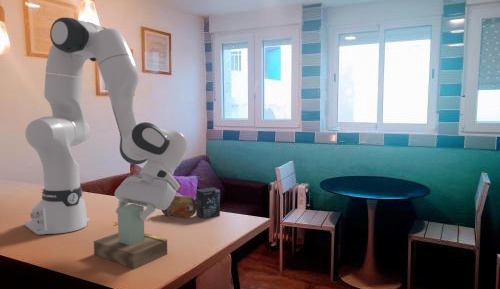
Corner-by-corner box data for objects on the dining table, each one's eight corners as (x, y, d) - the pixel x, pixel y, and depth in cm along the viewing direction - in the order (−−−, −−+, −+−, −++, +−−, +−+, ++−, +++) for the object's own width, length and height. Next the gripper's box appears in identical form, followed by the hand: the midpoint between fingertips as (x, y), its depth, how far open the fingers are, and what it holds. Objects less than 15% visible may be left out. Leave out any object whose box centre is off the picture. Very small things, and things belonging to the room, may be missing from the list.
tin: (160, 215, 145) (159, 194, 144) (164, 213, 148) (164, 192, 147) (193, 219, 139) (193, 198, 139) (197, 217, 142) (197, 196, 142)
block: (118, 241, 105) (117, 207, 104) (132, 236, 109) (131, 203, 108) (130, 245, 102) (129, 210, 101) (144, 240, 107) (143, 206, 106)
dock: (94, 254, 106) (93, 240, 106) (128, 241, 116) (127, 228, 116) (134, 268, 97) (133, 253, 96) (167, 253, 107) (167, 239, 107)
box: (202, 219, 140) (202, 191, 139) (195, 215, 145) (195, 189, 144) (220, 216, 144) (220, 189, 143) (213, 212, 149) (213, 186, 148)
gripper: (125, 167, 115) (99, 205, 108) (173, 174, 104) (147, 216, 97) (137, 179, 119) (112, 216, 112) (184, 187, 108) (160, 228, 101)
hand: (129, 216), depth 105 cm, fingers open, 8 cm apart
